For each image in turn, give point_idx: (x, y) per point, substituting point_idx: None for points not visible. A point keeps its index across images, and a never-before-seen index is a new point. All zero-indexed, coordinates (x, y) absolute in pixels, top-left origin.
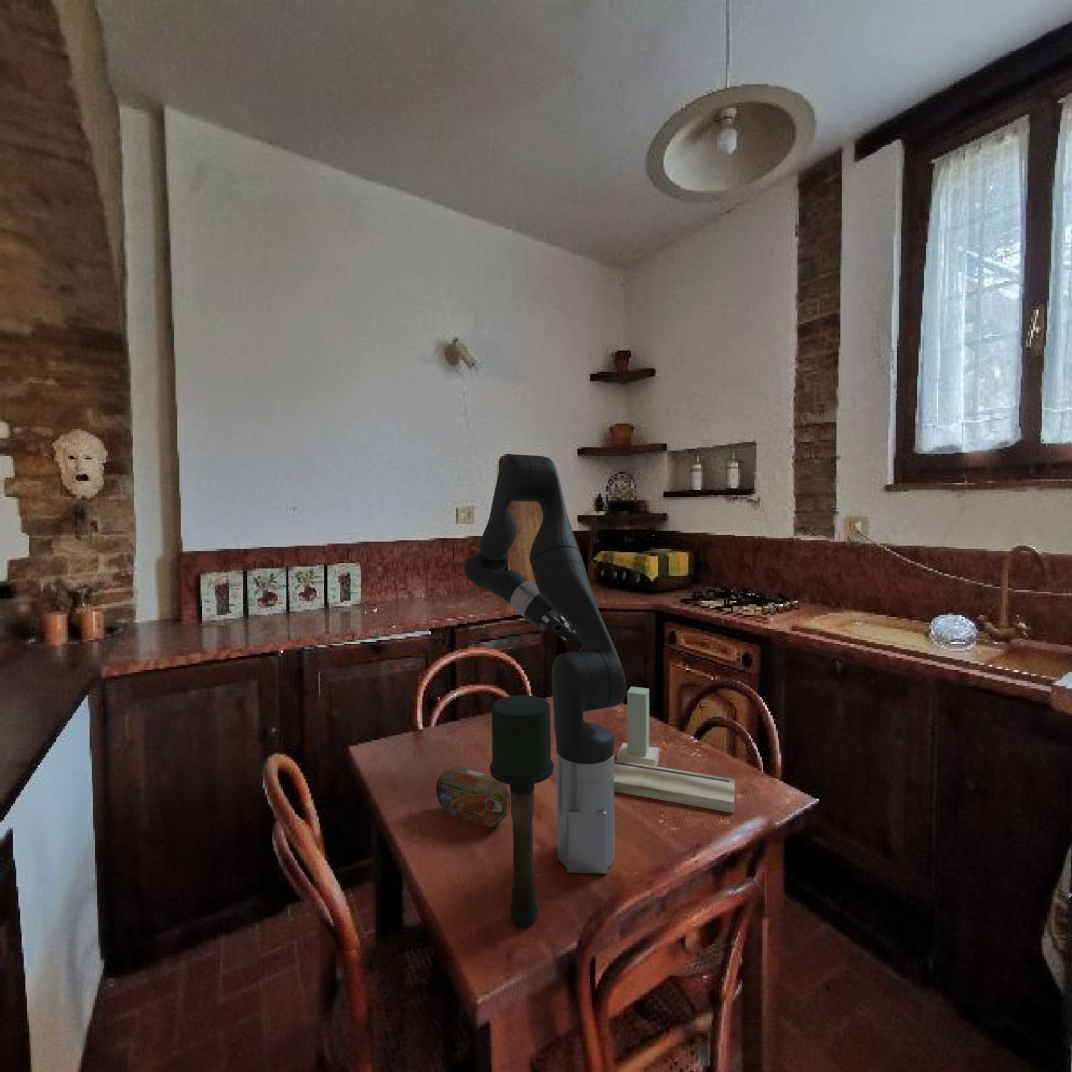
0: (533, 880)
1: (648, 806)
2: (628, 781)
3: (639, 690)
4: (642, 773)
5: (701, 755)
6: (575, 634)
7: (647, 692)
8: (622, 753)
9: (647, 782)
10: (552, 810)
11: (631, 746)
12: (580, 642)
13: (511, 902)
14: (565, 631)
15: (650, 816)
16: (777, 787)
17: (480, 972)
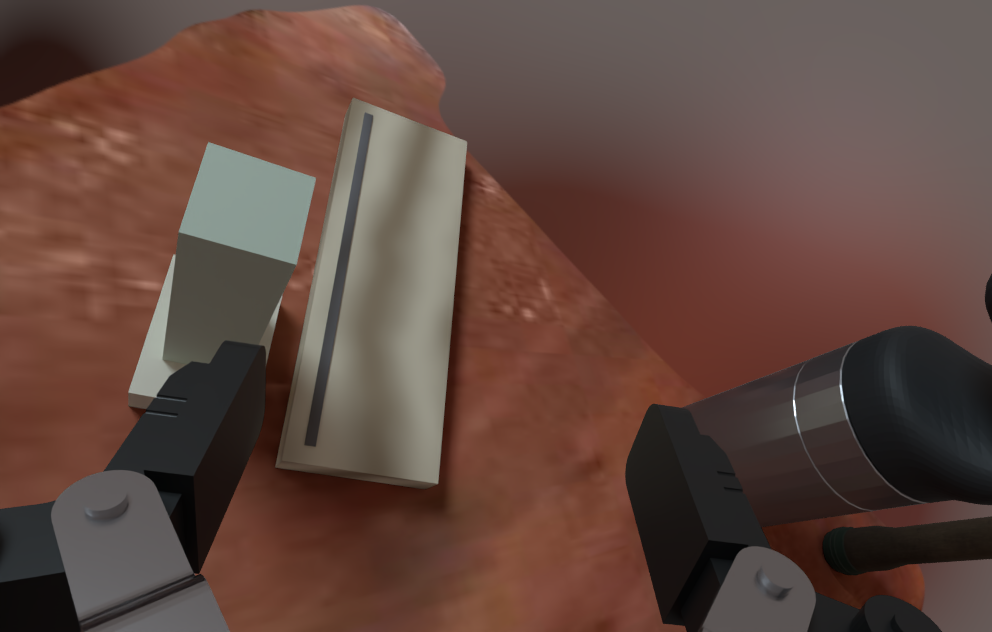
0: (889, 528)
1: (479, 337)
2: (432, 377)
3: (252, 197)
4: (374, 332)
5: (121, 129)
6: (729, 501)
7: (264, 164)
8: None
9: (424, 322)
10: (567, 597)
11: None
12: (710, 447)
13: (863, 572)
14: (850, 616)
15: (518, 335)
16: (316, 22)
17: (911, 583)
